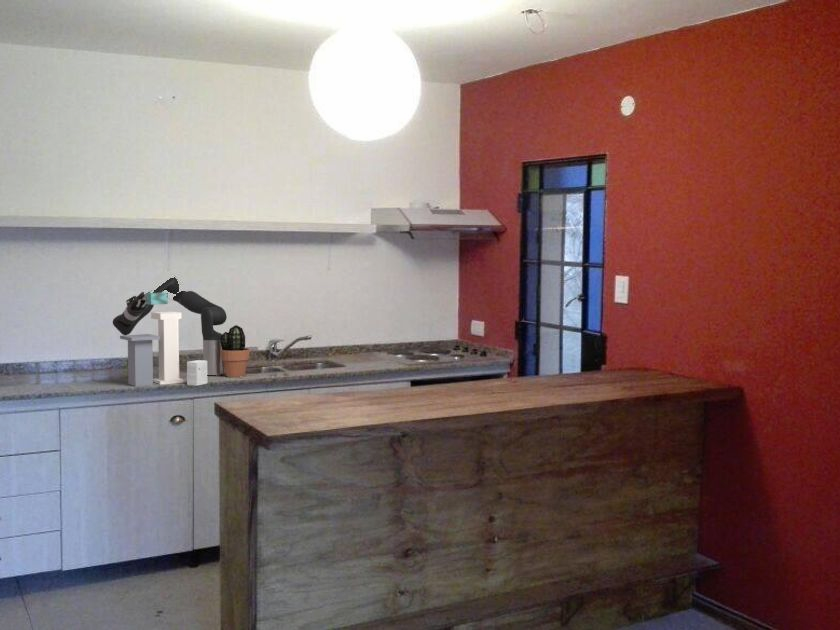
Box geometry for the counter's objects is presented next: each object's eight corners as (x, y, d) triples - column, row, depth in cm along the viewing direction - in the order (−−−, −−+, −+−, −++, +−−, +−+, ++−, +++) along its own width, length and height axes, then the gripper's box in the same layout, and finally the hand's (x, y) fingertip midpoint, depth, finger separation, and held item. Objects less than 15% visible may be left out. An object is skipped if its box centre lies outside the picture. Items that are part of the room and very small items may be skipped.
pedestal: (148, 381, 389) (148, 334, 387) (160, 385, 379) (160, 336, 378) (120, 384, 380) (119, 335, 379) (132, 387, 371) (131, 337, 369)
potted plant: (248, 374, 417) (247, 323, 416) (251, 377, 404) (251, 325, 403) (219, 375, 413) (219, 323, 411) (222, 378, 400) (221, 326, 398)
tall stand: (173, 379, 395) (173, 311, 393) (183, 382, 388) (182, 312, 386) (151, 382, 388) (150, 312, 386) (160, 384, 381) (159, 313, 378)
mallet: (149, 301, 409) (149, 291, 408) (167, 304, 393) (167, 293, 393) (133, 301, 403) (133, 291, 403) (151, 304, 388) (151, 293, 388)
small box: (197, 382, 387) (197, 359, 387) (207, 383, 385) (207, 360, 385) (186, 385, 380) (186, 361, 379) (197, 385, 378) (196, 362, 377)
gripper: (149, 316, 417) (162, 300, 405) (121, 317, 408) (133, 301, 396) (146, 302, 419) (158, 286, 407) (118, 303, 410) (130, 286, 398)
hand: (146, 293), depth 401 cm, fingers closed on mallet, 2 cm apart
